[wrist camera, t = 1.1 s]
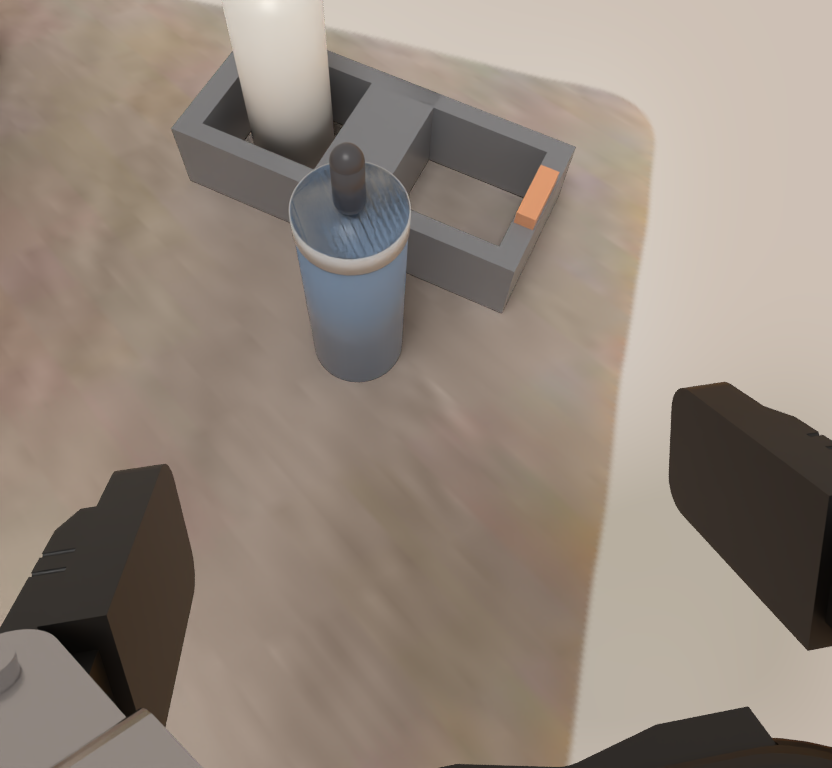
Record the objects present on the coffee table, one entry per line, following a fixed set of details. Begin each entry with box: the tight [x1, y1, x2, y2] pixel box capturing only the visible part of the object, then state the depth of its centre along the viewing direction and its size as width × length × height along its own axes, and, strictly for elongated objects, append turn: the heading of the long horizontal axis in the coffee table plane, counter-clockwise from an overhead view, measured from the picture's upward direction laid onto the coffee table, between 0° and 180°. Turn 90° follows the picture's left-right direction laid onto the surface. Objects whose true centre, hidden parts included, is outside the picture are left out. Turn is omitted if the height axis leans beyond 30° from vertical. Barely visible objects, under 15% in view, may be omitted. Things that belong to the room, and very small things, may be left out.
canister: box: [289, 142, 411, 382], centre depth 31 cm, size 4×4×14 cm
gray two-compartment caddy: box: [171, 0, 576, 313], centre depth 34 cm, size 19×8×14 cm, turn 65°
